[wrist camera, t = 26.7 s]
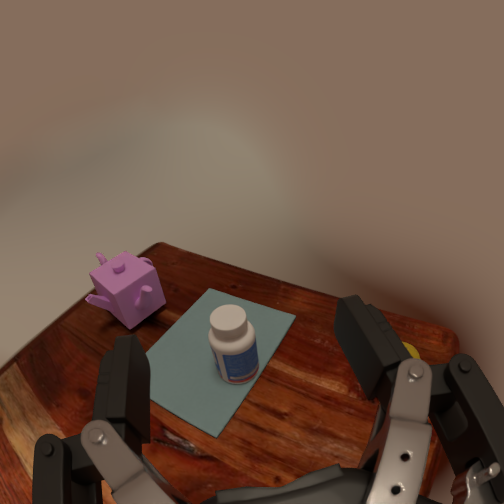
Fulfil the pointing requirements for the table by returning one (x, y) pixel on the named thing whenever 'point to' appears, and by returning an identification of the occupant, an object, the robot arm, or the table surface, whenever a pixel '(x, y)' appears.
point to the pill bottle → (233, 344)
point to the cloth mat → (208, 362)
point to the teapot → (127, 288)
